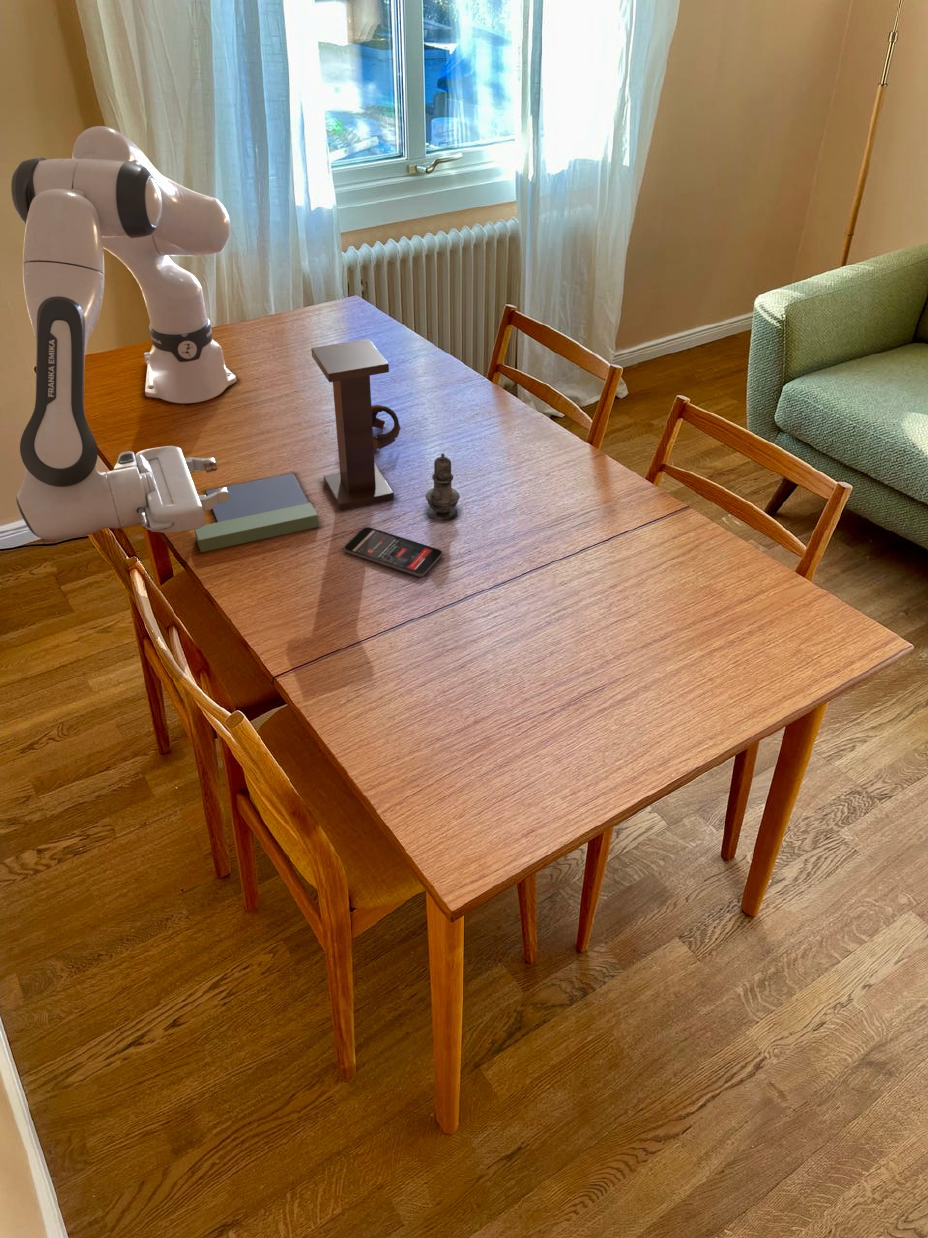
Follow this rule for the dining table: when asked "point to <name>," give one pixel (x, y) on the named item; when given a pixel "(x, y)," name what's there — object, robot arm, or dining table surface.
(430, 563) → the smartphone
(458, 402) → the dining table surface
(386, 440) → the pottery mug
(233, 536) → the bar
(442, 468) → the salt shaker
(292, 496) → the blue-grey flat rectangular plate
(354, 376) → the stand
